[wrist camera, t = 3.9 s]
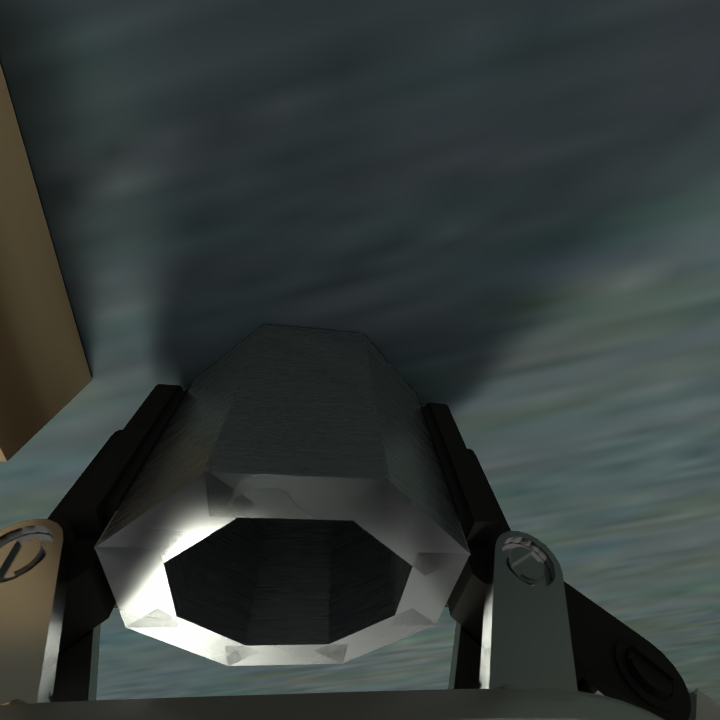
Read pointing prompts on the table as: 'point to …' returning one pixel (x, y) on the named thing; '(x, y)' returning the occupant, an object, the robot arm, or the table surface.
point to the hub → (288, 509)
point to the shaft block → (30, 303)
